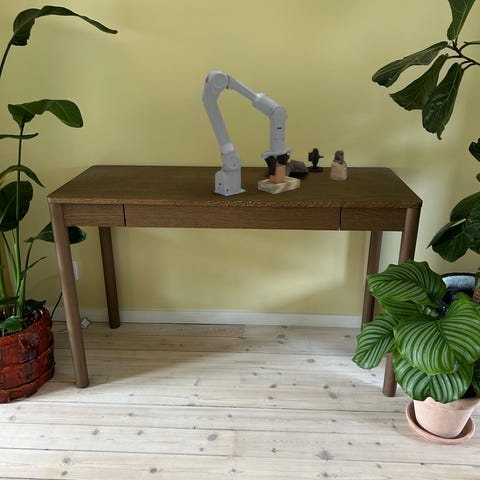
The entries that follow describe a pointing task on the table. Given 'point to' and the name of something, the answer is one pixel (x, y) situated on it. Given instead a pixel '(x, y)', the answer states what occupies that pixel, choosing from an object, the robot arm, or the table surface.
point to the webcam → (314, 161)
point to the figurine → (338, 167)
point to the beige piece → (279, 185)
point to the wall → (294, 166)
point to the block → (278, 174)
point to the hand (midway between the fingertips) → (276, 174)
